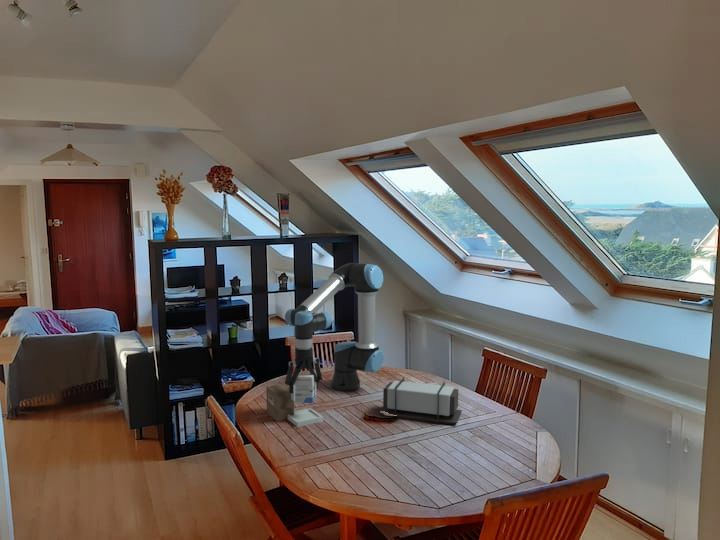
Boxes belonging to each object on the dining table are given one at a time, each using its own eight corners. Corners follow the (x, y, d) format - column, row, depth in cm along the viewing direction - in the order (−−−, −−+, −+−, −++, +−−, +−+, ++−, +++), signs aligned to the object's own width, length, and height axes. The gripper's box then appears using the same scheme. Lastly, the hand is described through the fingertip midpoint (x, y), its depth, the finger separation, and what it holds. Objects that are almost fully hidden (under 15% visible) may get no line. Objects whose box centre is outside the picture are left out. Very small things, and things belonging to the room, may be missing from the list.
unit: (283, 409, 258) (282, 383, 256) (294, 417, 248) (293, 391, 246) (265, 412, 253) (265, 386, 252) (276, 421, 243) (275, 394, 242)
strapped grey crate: (388, 375, 263) (462, 383, 252) (388, 405, 264) (461, 414, 253) (378, 384, 248) (457, 393, 237) (378, 416, 250) (456, 426, 239)
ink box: (314, 400, 247) (314, 373, 246) (312, 403, 242) (312, 377, 241) (295, 399, 248) (295, 373, 246) (292, 403, 243) (292, 376, 241)
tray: (310, 412, 254) (310, 407, 254) (323, 421, 244) (323, 416, 244) (285, 417, 248) (285, 413, 248) (297, 427, 237) (297, 422, 237)
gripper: (322, 342, 251) (322, 391, 253) (276, 348, 240) (276, 399, 242) (330, 346, 245) (330, 396, 247) (283, 352, 233) (283, 404, 236)
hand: (303, 397), depth 245 cm, fingers closed on ink box, 9 cm apart
